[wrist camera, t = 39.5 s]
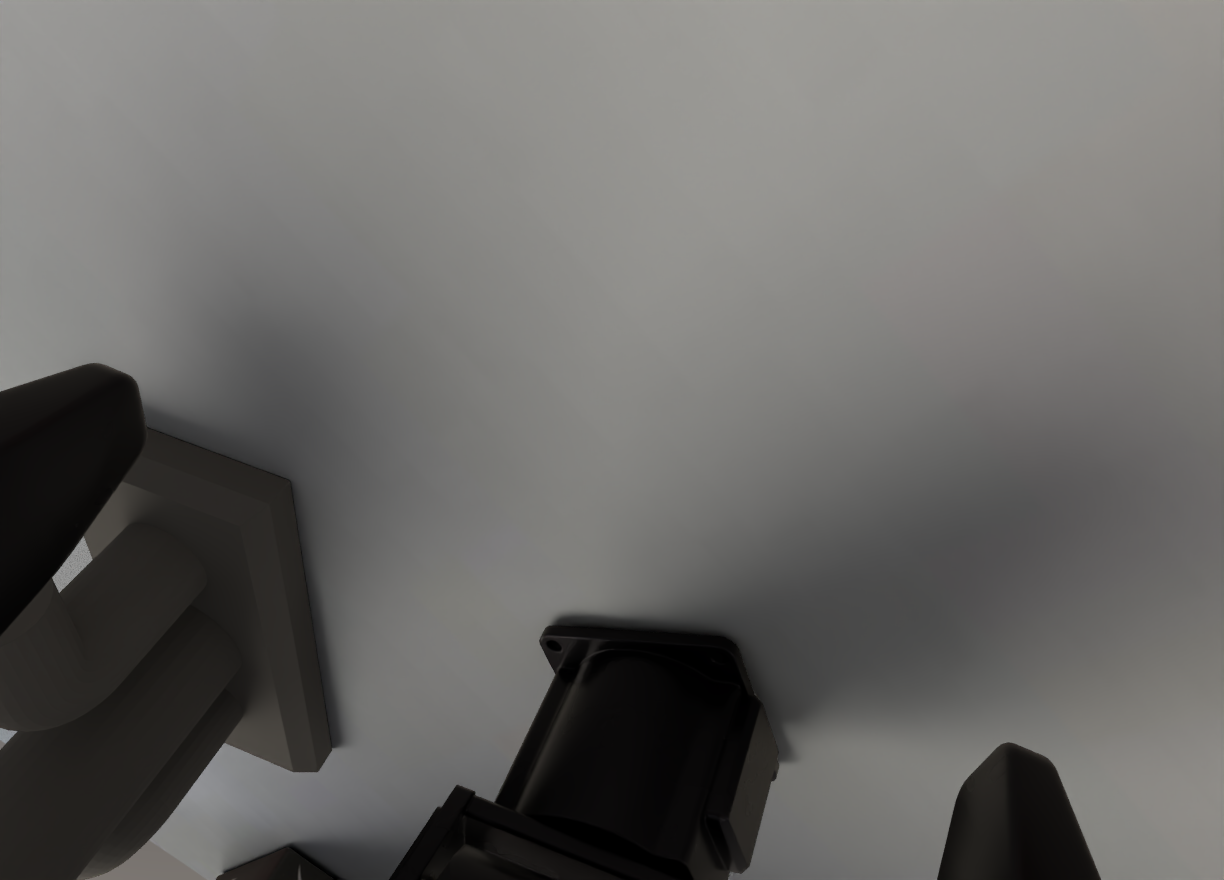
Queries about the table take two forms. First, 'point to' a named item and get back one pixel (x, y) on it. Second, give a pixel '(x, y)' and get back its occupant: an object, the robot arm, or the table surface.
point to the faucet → (156, 663)
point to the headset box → (277, 868)
